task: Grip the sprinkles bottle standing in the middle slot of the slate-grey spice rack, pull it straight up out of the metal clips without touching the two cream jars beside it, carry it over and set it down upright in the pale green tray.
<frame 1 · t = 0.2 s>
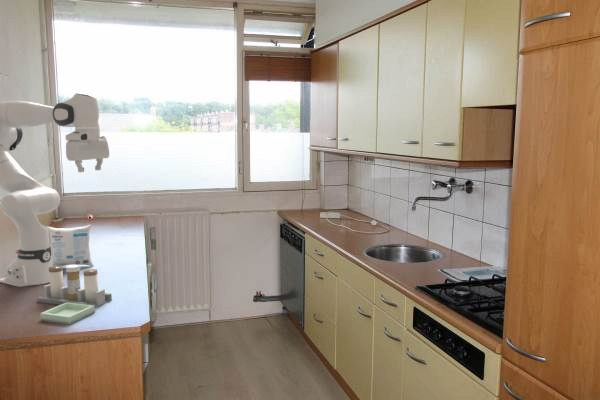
hand: (89, 171, 207), 47 cm above the counter, tool pointing down, fingers open, 8 cm apart
tray: (68, 316, 181), on the counter
right jar: (92, 303, 195), resting in spice rack
sprinkles bottle: (74, 301, 198), resting in spice rack
pouch: (71, 268, 245), on the counter
left jar: (57, 298, 200), resting in spice rack
spice rack: (74, 300, 198), on the counter
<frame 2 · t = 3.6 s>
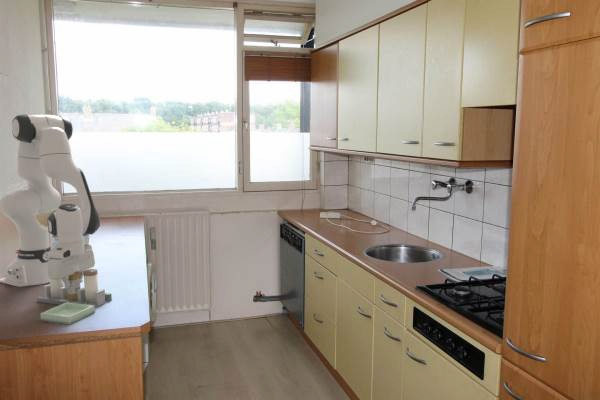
hand: (73, 284, 197), 6 cm above the counter, tool pointing down, fingers closed on sprinkles bottle, 4 cm apart
sprinkles bottle: (74, 301, 198), resting in spice rack, touching gripper
everything else where it was.
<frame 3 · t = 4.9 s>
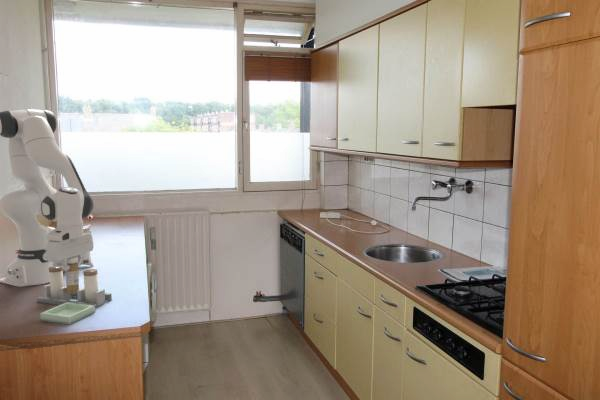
hand: (72, 268, 196), 12 cm above the counter, tool pointing down, fingers closed on sprinkles bottle, 4 cm apart
sprinkles bottle: (72, 292, 197), point 3 cm above the counter, touching gripper
everything else where it was.
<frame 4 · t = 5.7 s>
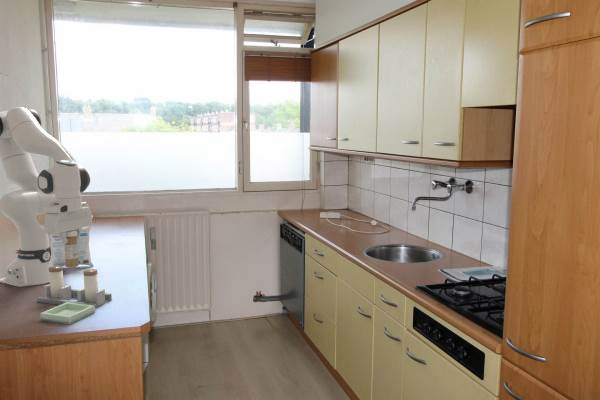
hand: (70, 242, 195), 22 cm above the counter, tool pointing down, fingers closed on sprinkles bottle, 4 cm apart
sprinkles bottle: (72, 267, 196), point 13 cm above the counter, touching gripper
everything else where it was.
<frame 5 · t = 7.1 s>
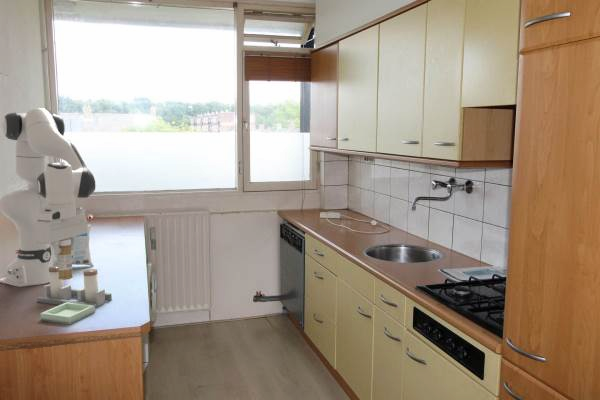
hand: (64, 251, 178), 23 cm above the counter, tool pointing down, fingers closed on sprinkles bottle, 4 cm apart
sprinkles bottle: (65, 279, 179), point 13 cm above the counter, touching gripper
everything else where it was.
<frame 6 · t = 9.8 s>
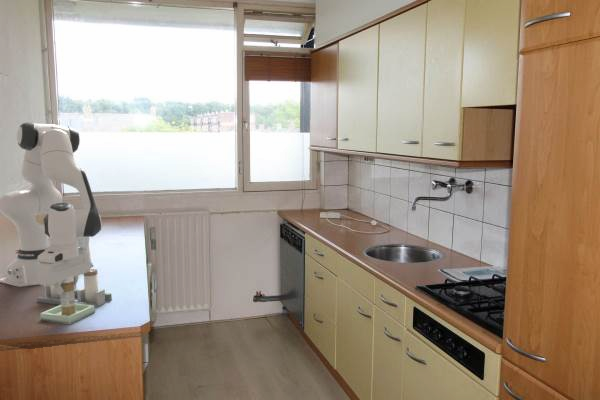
hand: (66, 291, 180), 9 cm above the counter, tool pointing down, fingers closed on sprinkles bottle, 4 cm apart
sprinkles bottle: (68, 314, 181), point 1 cm above the counter, touching gripper, tray
everything else where it was.
when the fingers open (9 cm above the counter, at t = 10.0 s): sprinkles bottle stays where it is, resting on tray.
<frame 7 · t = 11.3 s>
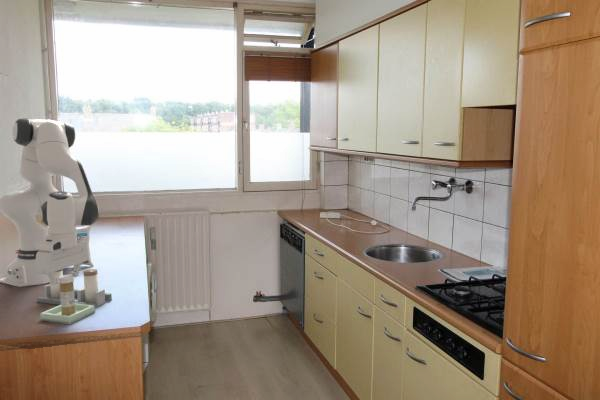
hand: (64, 280, 180), 13 cm above the counter, tool pointing down, fingers open, 8 cm apart
sprinkles bottle: (68, 315, 181), point 1 cm above the counter, touching tray
everything else where it was.
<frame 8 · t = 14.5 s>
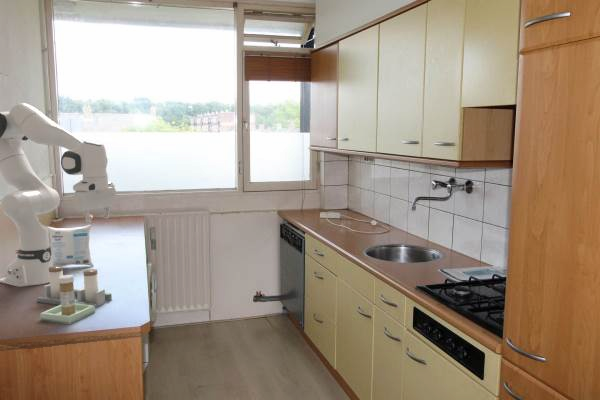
hand: (97, 220, 202), 29 cm above the counter, tool pointing down, fingers open, 8 cm apart
nothing on the counter moved.
at the end: sprinkles bottle inside the target area on the tray (0.4 cm from its centre), point 0.6 cm above the tray's base; sprinkles bottle tilted 0°; the gripper is holding nothing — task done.
